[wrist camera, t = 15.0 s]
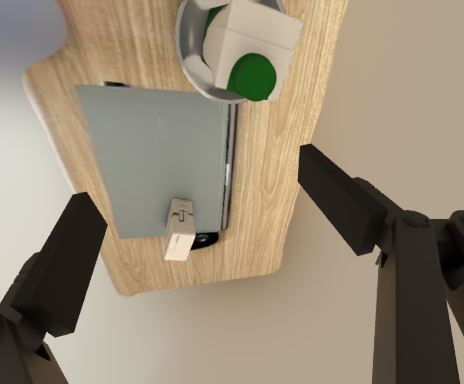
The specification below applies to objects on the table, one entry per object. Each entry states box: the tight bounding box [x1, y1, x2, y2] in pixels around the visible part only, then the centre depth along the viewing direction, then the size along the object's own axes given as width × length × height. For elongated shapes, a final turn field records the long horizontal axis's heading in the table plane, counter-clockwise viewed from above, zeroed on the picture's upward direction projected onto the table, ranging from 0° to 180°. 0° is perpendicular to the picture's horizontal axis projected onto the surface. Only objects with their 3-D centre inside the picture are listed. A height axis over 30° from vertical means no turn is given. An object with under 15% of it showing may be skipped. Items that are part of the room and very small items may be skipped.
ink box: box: [164, 198, 195, 261], centre depth 53 cm, size 9×5×12 cm, turn 159°
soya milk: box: [201, 0, 304, 101], centre depth 30 cm, size 9×9×20 cm
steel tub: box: [174, 0, 286, 104], centre depth 35 cm, size 16×16×7 cm
